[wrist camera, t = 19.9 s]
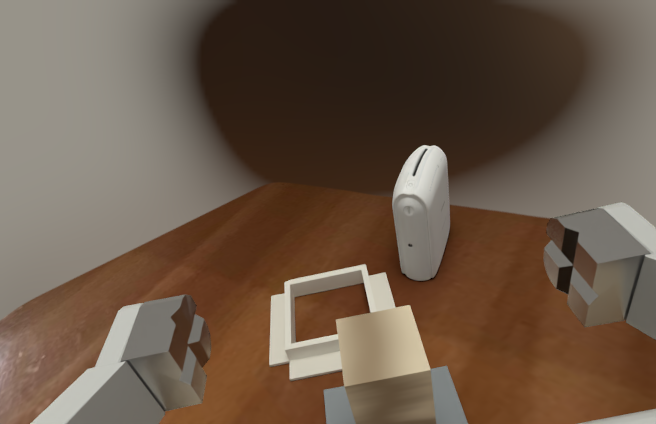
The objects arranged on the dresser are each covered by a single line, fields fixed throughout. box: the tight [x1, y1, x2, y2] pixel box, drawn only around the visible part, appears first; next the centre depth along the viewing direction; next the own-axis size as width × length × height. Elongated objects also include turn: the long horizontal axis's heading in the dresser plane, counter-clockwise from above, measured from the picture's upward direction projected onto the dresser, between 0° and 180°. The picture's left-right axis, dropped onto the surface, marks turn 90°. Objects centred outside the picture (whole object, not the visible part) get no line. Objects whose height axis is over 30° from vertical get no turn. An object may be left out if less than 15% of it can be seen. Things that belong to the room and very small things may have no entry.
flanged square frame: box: [269, 264, 395, 381], centre depth 45 cm, size 13×13×2 cm
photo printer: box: [392, 145, 450, 281], centre depth 48 cm, size 10×4×12 cm, turn 157°
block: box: [336, 305, 436, 424], centre depth 30 cm, size 5×5×12 cm
